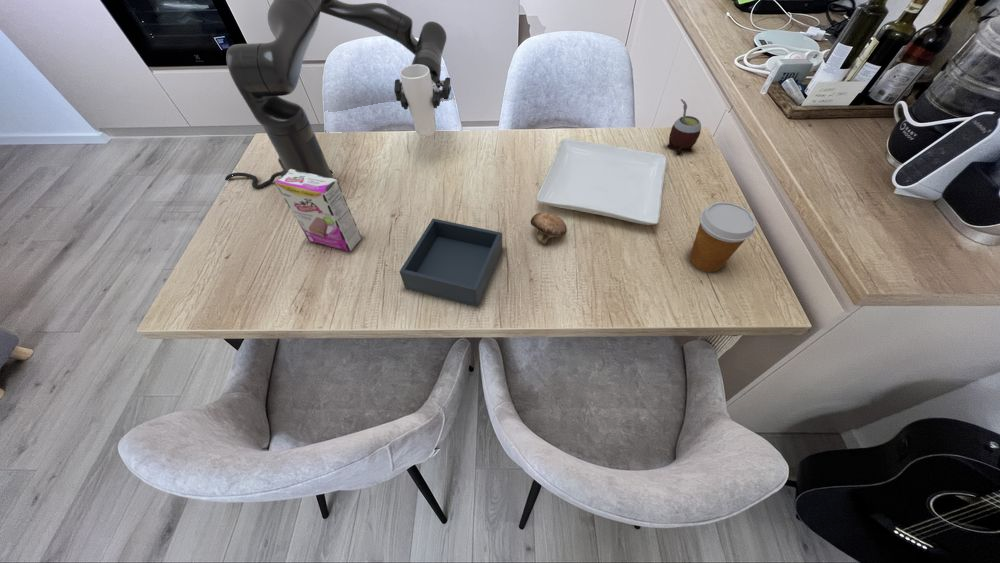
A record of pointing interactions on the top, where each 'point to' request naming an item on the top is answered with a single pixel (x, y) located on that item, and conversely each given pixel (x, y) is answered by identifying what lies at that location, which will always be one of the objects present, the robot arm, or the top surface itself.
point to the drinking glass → (419, 97)
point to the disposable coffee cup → (720, 234)
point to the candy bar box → (320, 209)
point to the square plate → (605, 181)
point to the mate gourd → (684, 132)
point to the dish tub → (453, 261)
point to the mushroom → (548, 226)
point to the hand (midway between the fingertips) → (419, 105)
